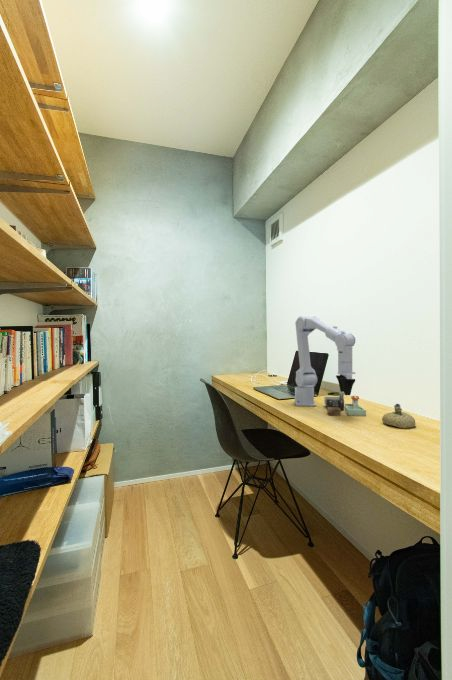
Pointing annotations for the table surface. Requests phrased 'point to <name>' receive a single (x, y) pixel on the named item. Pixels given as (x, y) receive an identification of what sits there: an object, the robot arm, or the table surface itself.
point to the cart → (335, 401)
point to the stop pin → (354, 402)
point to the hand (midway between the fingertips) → (345, 393)
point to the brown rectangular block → (333, 411)
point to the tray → (355, 411)
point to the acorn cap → (399, 418)
